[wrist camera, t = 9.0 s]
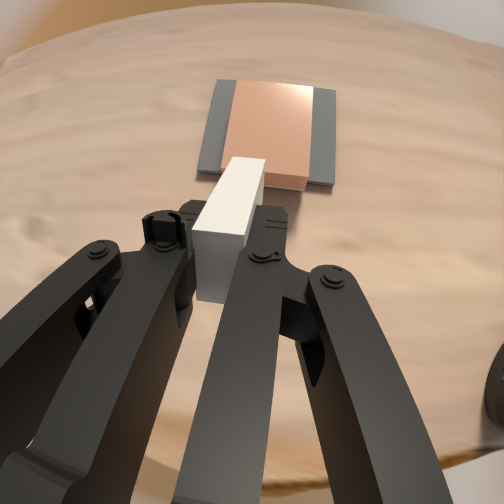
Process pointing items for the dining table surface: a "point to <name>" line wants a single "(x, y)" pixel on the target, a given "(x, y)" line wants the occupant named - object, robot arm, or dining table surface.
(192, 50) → the dining table surface
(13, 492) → the robot arm
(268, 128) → the terracotta block
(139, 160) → the dining table surface
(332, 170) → the slate mat
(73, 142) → the dining table surface
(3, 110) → the dining table surface
